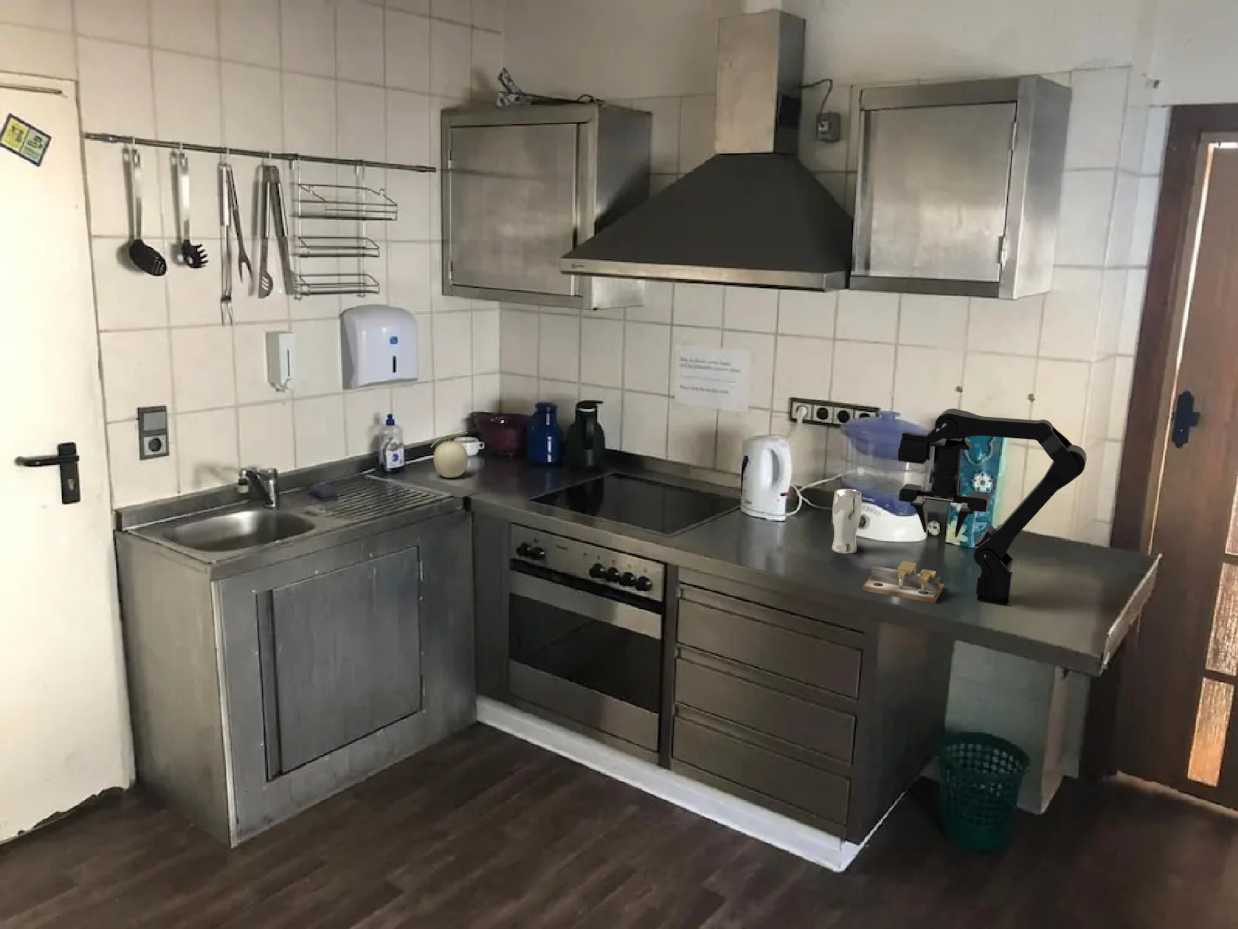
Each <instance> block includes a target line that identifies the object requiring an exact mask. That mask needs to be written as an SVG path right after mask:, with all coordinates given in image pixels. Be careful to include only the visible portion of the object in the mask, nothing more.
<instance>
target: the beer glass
mask: <svg viewBox="0 0 1238 929" xmlns="http://www.w3.org/2000/svg"><path fill="white" fill-rule="evenodd" d="M862 494H863V493H862V492H861V491H859V490H857V489H851V488H839V489H836V490H834V494H833V502H832V520H833V521H832V523H833V530H834V535H833V536H834V537H833V540H832V541H833V542H832V546H831V549H832V551H833V552H834V553H838V554H844V555H846V554H847V555H849V554H850V555H851V554H855V553H856V552H857V541H856V540H857V532H858V529H859V524H860V521H861V516H862V515H861V514H862V503H863V502H862Z"/></svg>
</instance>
